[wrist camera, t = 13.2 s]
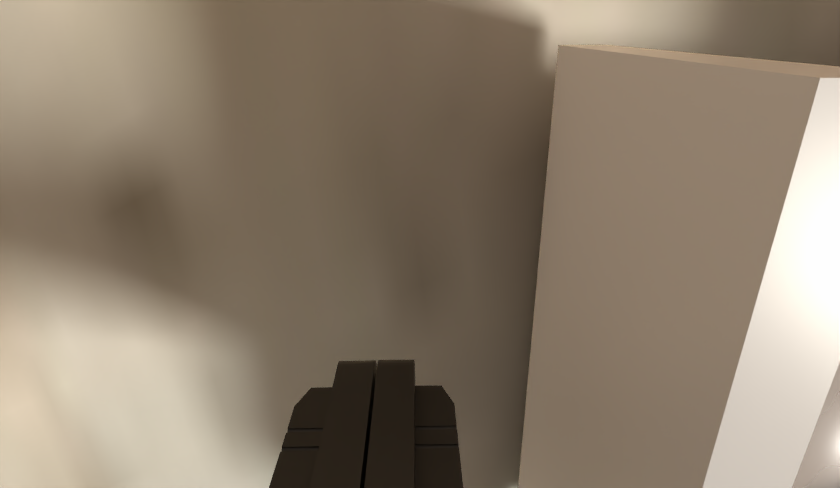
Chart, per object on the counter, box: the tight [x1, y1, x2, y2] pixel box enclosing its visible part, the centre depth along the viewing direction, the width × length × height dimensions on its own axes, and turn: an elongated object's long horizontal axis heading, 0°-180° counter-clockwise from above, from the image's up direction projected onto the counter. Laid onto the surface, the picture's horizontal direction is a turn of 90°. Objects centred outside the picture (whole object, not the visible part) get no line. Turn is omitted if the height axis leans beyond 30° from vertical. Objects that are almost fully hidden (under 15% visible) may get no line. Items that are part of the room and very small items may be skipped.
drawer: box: [518, 45, 840, 488], centre depth 9 cm, size 9×13×6 cm
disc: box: [792, 363, 840, 488], centre depth 9 cm, size 6×6×2 cm
